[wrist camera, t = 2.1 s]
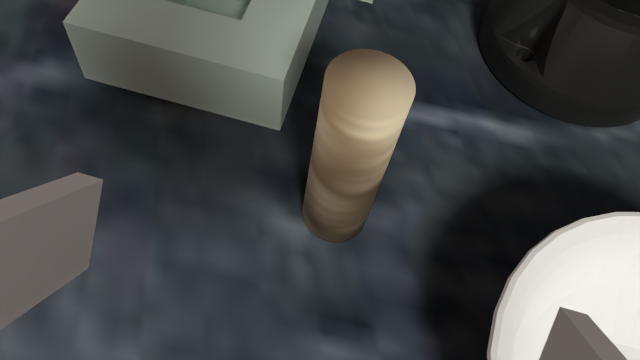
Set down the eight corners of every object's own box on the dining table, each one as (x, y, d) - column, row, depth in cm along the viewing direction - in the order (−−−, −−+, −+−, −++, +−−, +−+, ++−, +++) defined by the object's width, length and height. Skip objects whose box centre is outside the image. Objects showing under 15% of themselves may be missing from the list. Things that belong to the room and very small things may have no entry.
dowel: (371, 194, 34) (421, 62, 24) (358, 249, 32) (407, 129, 22) (311, 178, 34) (336, 39, 24) (294, 231, 32) (313, 104, 22)
